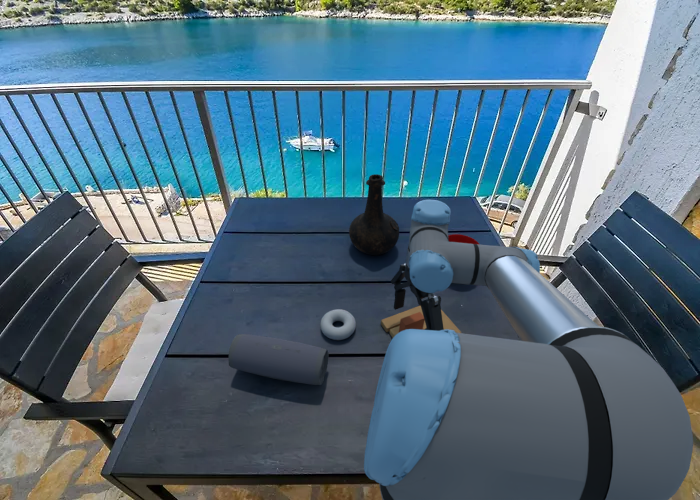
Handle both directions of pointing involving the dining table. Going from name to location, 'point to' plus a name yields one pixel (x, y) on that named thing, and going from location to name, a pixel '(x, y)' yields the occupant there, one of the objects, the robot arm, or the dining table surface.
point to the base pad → (395, 319)
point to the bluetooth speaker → (278, 358)
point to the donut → (341, 331)
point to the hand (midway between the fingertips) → (411, 325)
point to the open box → (409, 323)
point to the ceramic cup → (461, 239)
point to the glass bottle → (374, 223)
